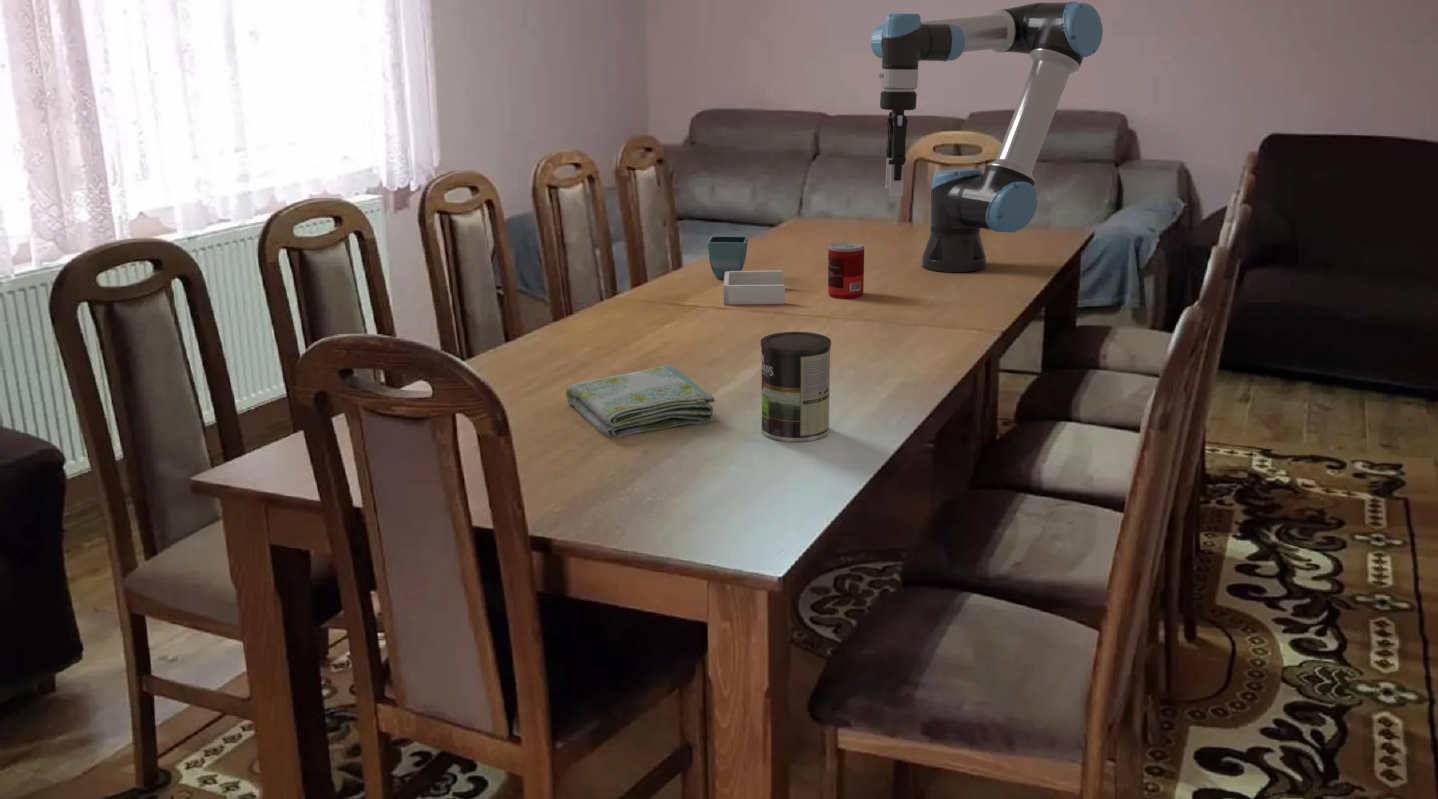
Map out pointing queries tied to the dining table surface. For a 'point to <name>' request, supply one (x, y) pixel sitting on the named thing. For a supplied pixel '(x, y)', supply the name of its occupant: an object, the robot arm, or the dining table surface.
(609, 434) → the towel
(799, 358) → the coffee can
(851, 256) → the canned food
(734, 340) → the dining table surface
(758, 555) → the dining table surface
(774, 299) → the white open tray
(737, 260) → the flower pot
